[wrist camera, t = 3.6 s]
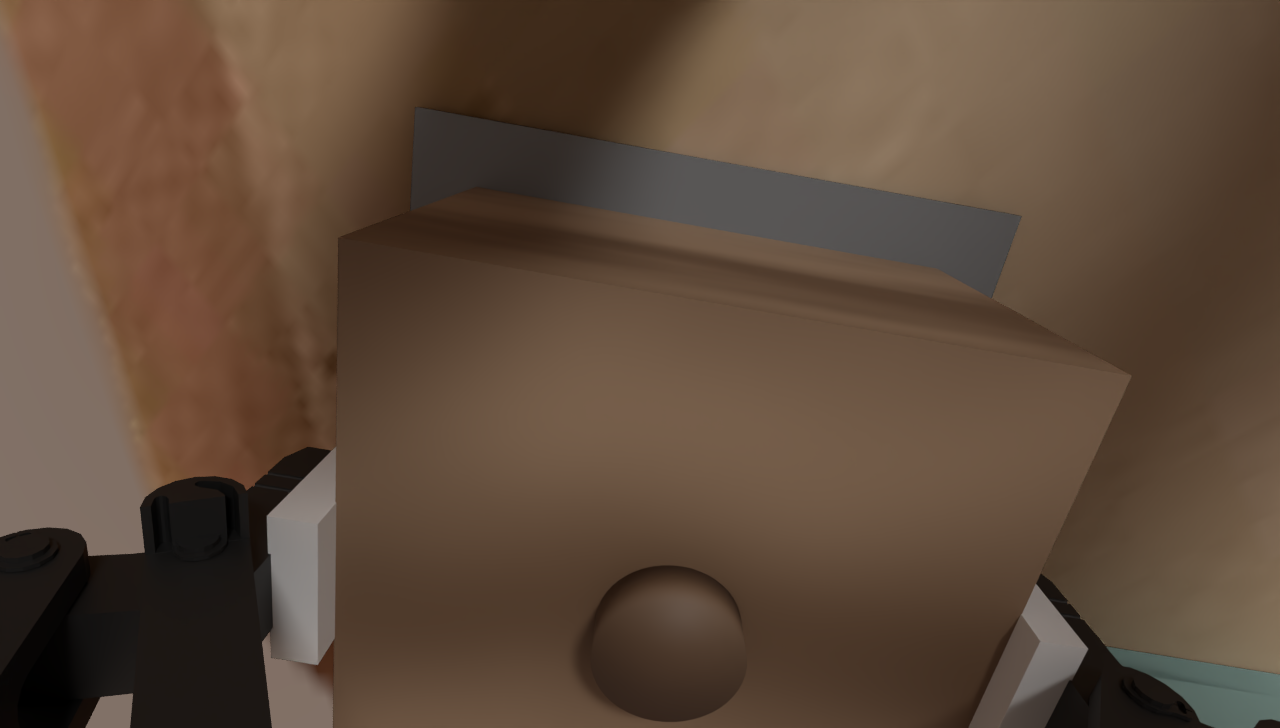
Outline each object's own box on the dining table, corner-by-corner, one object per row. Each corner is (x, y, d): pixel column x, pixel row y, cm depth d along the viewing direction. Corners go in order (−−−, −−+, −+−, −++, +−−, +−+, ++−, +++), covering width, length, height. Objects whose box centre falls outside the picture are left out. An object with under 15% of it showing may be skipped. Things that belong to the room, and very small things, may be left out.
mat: (418, 107, 15) (415, 107, 15) (1017, 215, 15) (1021, 216, 15) (393, 600, 20) (391, 605, 20) (849, 673, 20) (852, 679, 20)
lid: (476, 186, 15) (308, 247, 8) (936, 268, 16) (1173, 398, 8) (444, 572, 19) (311, 850, 12) (816, 632, 20) (907, 938, 12)
